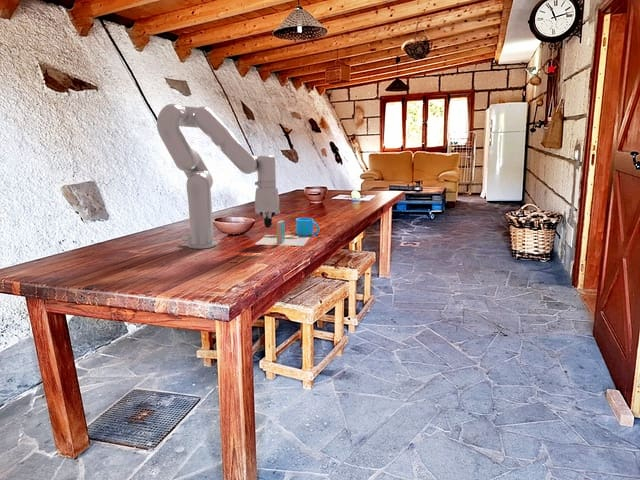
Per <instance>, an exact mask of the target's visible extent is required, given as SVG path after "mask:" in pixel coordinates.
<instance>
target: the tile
mask: <svg viewBox="0 0 640 480" xmlns="http://www.w3.org/2000/svg"><path fill="white" fill-rule="evenodd" d="M285 226H286V225H285V220H283V219H282V220H281V219H279V220H278V221H277V222H276V235H277V244H281V243H282V242H283V241H284V240H285V234H286V229H285V228H286V227H285Z"/></svg>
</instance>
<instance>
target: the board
mask: <svg viewBox="0 0 640 480" xmlns="http://www.w3.org/2000/svg"><path fill="white" fill-rule="evenodd" d="M310 238H311V236H299V238H298V239H285V240H284V241H283V242H282V243H281V244H277V238H273V237H264V236H263V237H262V238H261V239H260V240H258V241H256V243H255V245H267V246H268V245H269V246H293V247H294V246H298V247H299V246H300V247H304V246H305V244H306V243H307V242H308V241H309V239H310Z"/></svg>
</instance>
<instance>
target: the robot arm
mask: <svg viewBox="0 0 640 480" xmlns="http://www.w3.org/2000/svg"><path fill="white" fill-rule="evenodd" d="M156 118H157V120H156V128H157V131H158V135H159V136H160V138H161V141H162V142H163V144H164V147H165V148H166V150H167V152H168V153H169V155H170V156H171V158H172V160H173V162H174V164H175V166H176V167H177V168H178V170H180V171H182V172H183V173H184V174H185V175H186V177H187V180H186V193H187V202H188V204H187V205H188V217H189V218H188V219H189V220H188V221H189V235H182V236H181V240H182V241H183V242H188V243H186V244H187V248H189V249H197V250H199V249H203V250H204V249H210V248H215V247H217V246H218V242H217V240H214V224H213V207H212V205H213V204H212V203H213V202H212V192H211V191H212V190H211V189H212V187H213V184H214V183H213V182H214V181H213V180H214V179H213V176H212V174H211V173H210V170H209V169H208V167H207V166H206V164H205V162H204V160H203V159H202V157H201V155H200V154H199V152H198V151H197V150H195V149H193V148H191V146H190V145H189V143H188V141H187V140H186V138H185V136H184V134H183V132H182V131H181V128H180V127H184V128H185V127H186V128H197V129H198V128H199V130H201V132H203V134H205V135H206V137H208V139H209V140H210V141H211V142H212V143H214V145H215V146H216V147H217V148H218V150H220V151H221V152H222V153H223V154H224V155H225V156H226V157H227V158H228V160H229V161H230V162H231V163H232V164H233V165H234V166H235V167H236V168H238V170H239V171H240V172H241V173H243V174H246V175H249V174H252V173H254V172H255V173H257V181H255V182H254V186H257V187H256V189H255V194H254V195H255V196H254V210H255V214H258V215H260V216H261V217H262V218H263V223H264V224H263V225H264V226H265V228H271V226H272V224H273V223H272V222H273V217H274V216H275V215H279V214H281V210H280V209H281V204H280V196H279V195H280V194H279V189H278V187H277V181H276V180H277V179H276V178H277V177H276V157H275V156H274V155H269V154H268V155H263V154H262V155H252V154H250V153H249V152H248V151H247V150H246V149H245V147H244V146H242V144H241V143H240V142H239V141H238V139H237V138H236V135H235V134H234V132H233V131H231V129H229V128H228V126H227V125H225V123H224V122H223V121H222V120H221V119H220V118H219V117H218V116H217V115H216V114H215V112H214V110H212V109H211V108H209V107H207V106H198V107H197V106H196V107H195V106H185V105H179V104H176V103H168V104H166V105H165V106H163V107H162V109H161V110H160V112H159V113H158V116H157V117H156Z"/></svg>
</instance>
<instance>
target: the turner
mask: <svg viewBox="0 0 640 480" xmlns="http://www.w3.org/2000/svg"><path fill="white" fill-rule="evenodd" d="M263 237H273V238H277V234H264V235H263ZM299 237H300V235H297V234H296V235H293V234H289V235H288V234H287V235H285V239H298V238H299Z"/></svg>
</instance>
